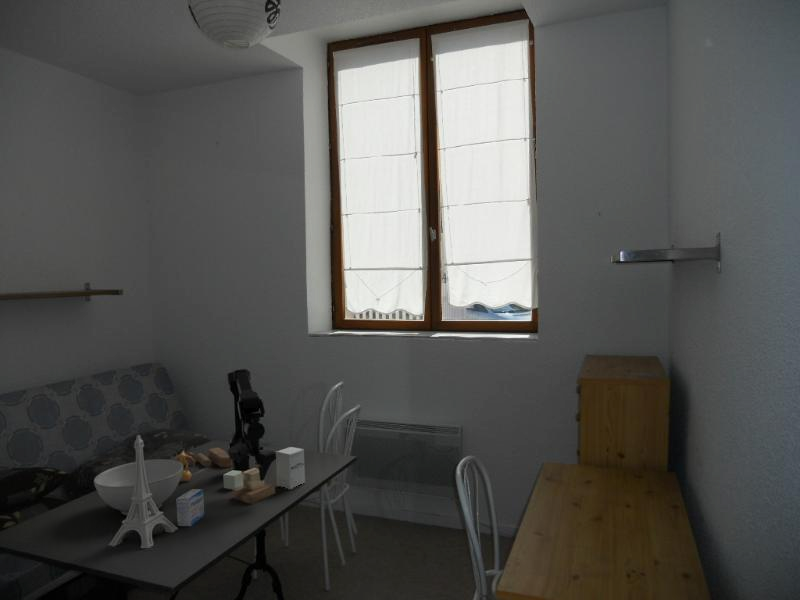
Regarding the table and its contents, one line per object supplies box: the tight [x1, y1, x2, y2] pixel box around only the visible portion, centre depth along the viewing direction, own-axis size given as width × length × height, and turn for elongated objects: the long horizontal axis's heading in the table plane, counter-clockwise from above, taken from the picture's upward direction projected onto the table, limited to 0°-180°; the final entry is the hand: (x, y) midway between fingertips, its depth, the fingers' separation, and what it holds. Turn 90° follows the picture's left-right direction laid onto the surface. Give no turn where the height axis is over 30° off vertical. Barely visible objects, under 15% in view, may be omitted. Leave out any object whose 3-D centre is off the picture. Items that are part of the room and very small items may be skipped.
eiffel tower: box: [108, 434, 179, 548], centre depth 165 cm, size 13×13×30 cm
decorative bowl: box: [93, 458, 184, 516], centre depth 187 cm, size 27×27×12 cm
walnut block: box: [232, 482, 276, 505], centre depth 194 cm, size 10×10×4 cm
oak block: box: [243, 467, 266, 491], centre depth 194 cm, size 5×5×6 cm
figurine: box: [172, 450, 196, 483], centre depth 211 cm, size 8×6×12 cm
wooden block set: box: [177, 447, 233, 469], centre depth 230 cm, size 17×6×18 cm
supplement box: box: [275, 446, 306, 490], centre depth 203 cm, size 7×7×13 cm
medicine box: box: [175, 488, 205, 527], centre depth 175 cm, size 8×4×9 cm, turn 168°
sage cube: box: [222, 469, 243, 490], centre depth 204 cm, size 5×5×5 cm
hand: (253, 478), depth 194 cm, fingers open, 9 cm apart
